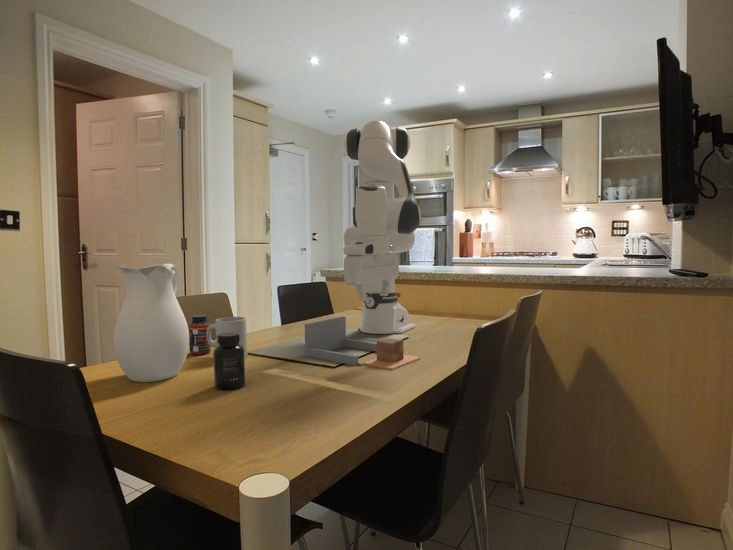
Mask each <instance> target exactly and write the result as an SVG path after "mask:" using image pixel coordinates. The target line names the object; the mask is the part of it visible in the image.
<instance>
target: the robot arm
mask: <svg viewBox="0 0 733 550" xmlns="http://www.w3.org/2000/svg"><path fill="white" fill-rule="evenodd" d="M410 148H411V138H410V135H409V133H408V130H407V129H406V128H404V127H400V126H396V127H392V126H388V124H387V123H385V122H384V121H381V120H371V121H369V122H368V123H366V124H365V125H364V126H363V128H358V127H356V128H353V129H350V130H349V131H348V132H347V134H346V137H345V140H344V149H345V152H346V154H347V156H348V158H349V159H351V160H353V161H358V165H359V167H360V169H361V170H362V172H363V176H362V177H363V180H362V182H363V185H360V186H359V187H357V190H356V196H355V204H354V206H353V207H352V225H349V226H348V227H347V228H346V229H345V231H344V233H343V244H344V247H343V255H345V257H344V259H343V279H344V282H345V283H346V285H350V286H355V291H356V293H357V294H358V301H359V302H363V306H362V308H361V320H360V325H359V326H358V328H359V329H360V332H362V333H364V334H365V333H366V334H371V335H372V334H375V335H379V334H380V335H382V334H383V335H386V334H387V335H388V334H404V333H405V332H407V331H409V330H411V329H413V328H415V327H416V323H413V322H410V317H409V311H408V310H407V309H406V308H405V307H404V306H402V304H401V303H400V302H399V298H402V291H399V292H398V291H396V289H395V288H396V285H395V283H396V281H395V279H397V278H398V277H399V276H400V275H399V274H400V267H399V266H400V264H399V258H398V254H400V253H405V252H406V253H407V252H410V250H411V249H412V248H413V246H414V244H415V240H416V236H415V235H416V234H415V231H416V230H417V229H418V228H419V227H420V224H421V220H422V216H421V215H422V214H421V209H420V206H419V204H418V201H417V199H416V196H415V193H414V190H413V189H414V188H413V186H412V182H411V181H412V180H411V178H410V174H409V171H408V168H407V164H406V163H405V161H404V160H403V159H405V157H407V155H408V153H409V151H410ZM395 186H396V188H397V192H398V196H399V197H396V198H395Z"/></svg>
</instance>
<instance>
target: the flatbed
mask: <svg viewBox="0 0 733 550" xmlns="http://www.w3.org/2000/svg"><path fill="white" fill-rule="evenodd" d="M346 320H347V319H346V316H343V315H342V316H338V317H333V318H328V319H324V320H323V319H322V320H319V321H313V322H309V323H304V349H305V351H304V352H305V353H304V355H305V357H310V358H316V359H320V360H326V361H331V362H337V363H342V364H347V365H350V366H358V367H362V366H364V365H363V362H359V355H354V354H350V353H349V354H348V353H343V352H338V351H333V350H336V349H340V348H342V347H345V348H350V349H351V348H352V349H358V350H363V351H371V352H376V353H377V342H374V341H373V342H371V341H365V340H360V339H358V340H357V339H353V338H352V339H351V338H347V332H346V331H347V327H346V325H347V323H346V322H347V321H346Z"/></svg>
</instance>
